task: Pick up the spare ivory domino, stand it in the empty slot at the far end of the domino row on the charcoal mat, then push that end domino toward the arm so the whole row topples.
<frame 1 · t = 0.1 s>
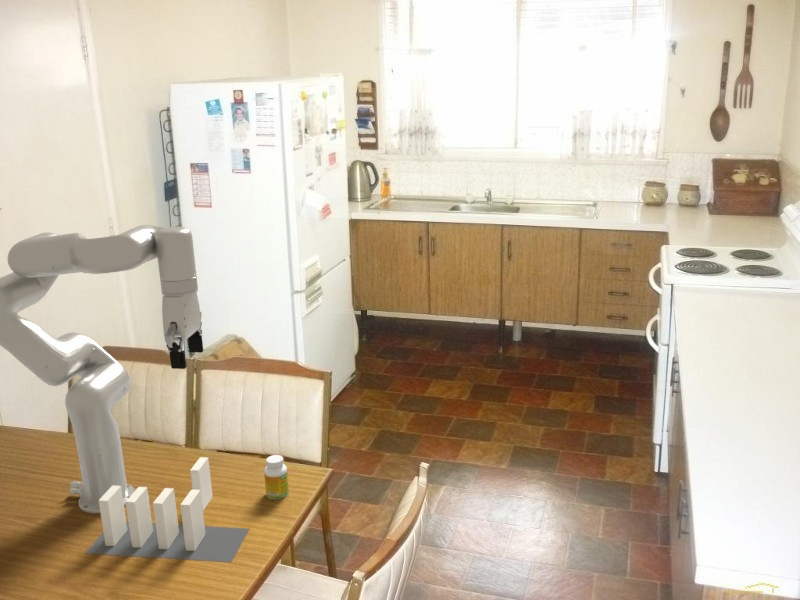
hand: (187, 359, 168), 37 cm above the table, tool pointing down, fingers open, 9 cm apart
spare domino: (204, 505, 178), on the table
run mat: (169, 543, 164), on the table
domino 4: (142, 539, 165), point 1 cm above the table, touching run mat
domino 5: (116, 537, 166), point 1 cm above the table, touching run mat
domino 3: (169, 540, 164), point 1 cm above the table, touching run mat
supplement bottle: (277, 496, 182), on the table
domino 2: (195, 542, 163), point 1 cm above the table, touching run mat
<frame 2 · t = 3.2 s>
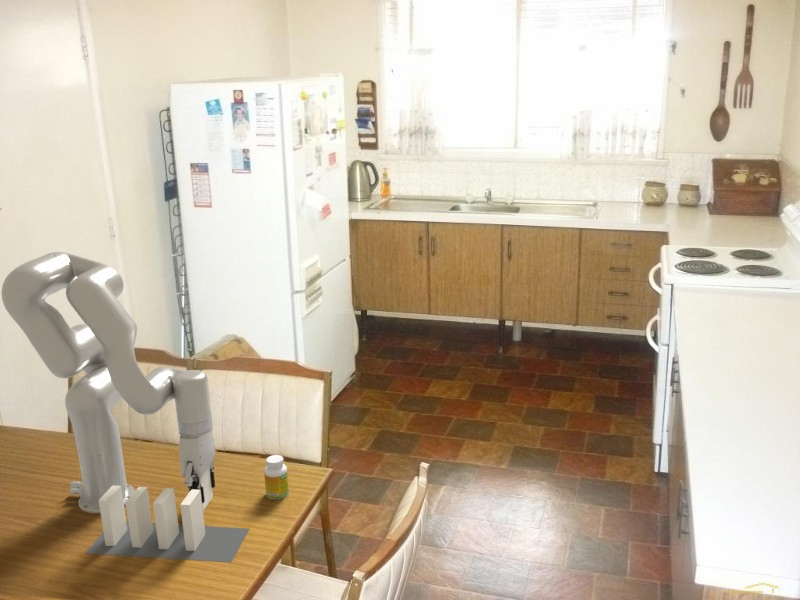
hand: (203, 493, 177), 3 cm above the table, tool pointing down, fingers closed on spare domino, 5 cm apart
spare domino: (204, 505, 178), on the table, touching gripper
everything else where it was.
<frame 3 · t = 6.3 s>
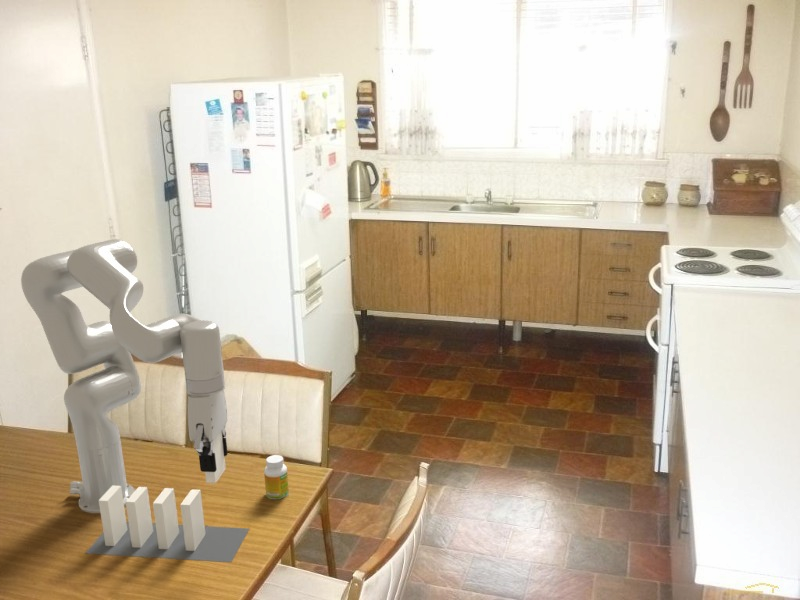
hand: (214, 462, 157), 20 cm above the table, tool pointing down, fingers closed on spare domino, 5 cm apart
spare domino: (216, 475, 158), point 17 cm above the table, touching gripper
everything else where it was.
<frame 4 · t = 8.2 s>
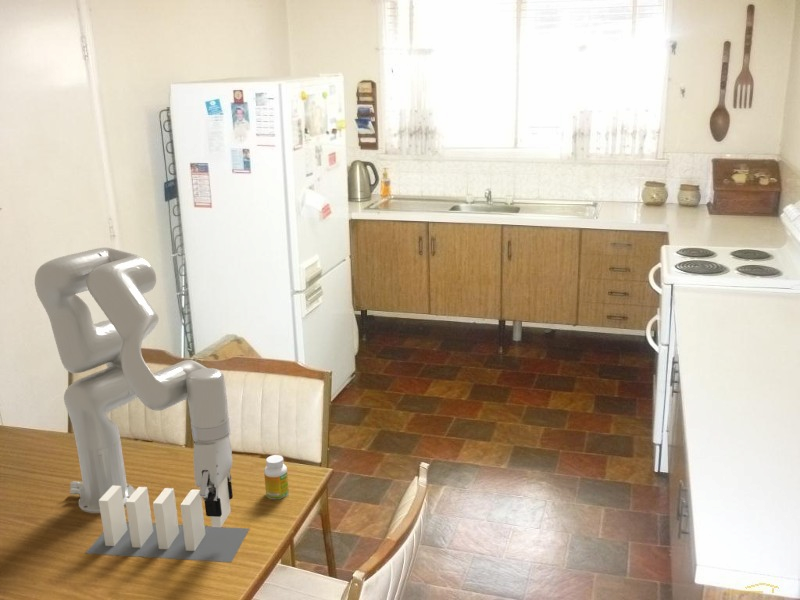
hand: (219, 506, 160), 10 cm above the table, tool pointing down, fingers closed on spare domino, 5 cm apart
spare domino: (221, 519, 161), point 7 cm above the table, touching gripper
everything else where it was.
when the fingers open (5 cm above the table, at t = 9.7 s): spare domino stays where it is, resting on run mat.
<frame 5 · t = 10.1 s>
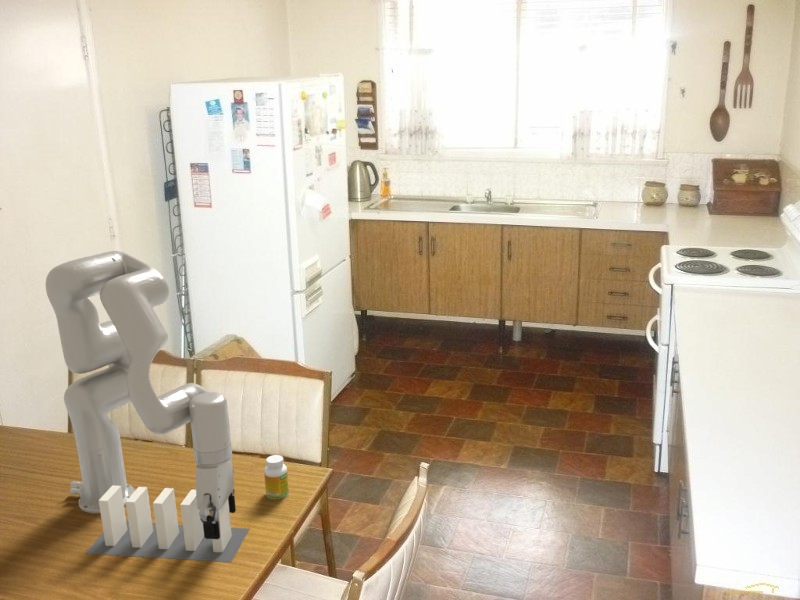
hand: (220, 524, 161), 5 cm above the table, tool pointing down, fingers open, 9 cm apart
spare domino: (222, 543, 163), point 1 cm above the table, touching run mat
everything else where it was.
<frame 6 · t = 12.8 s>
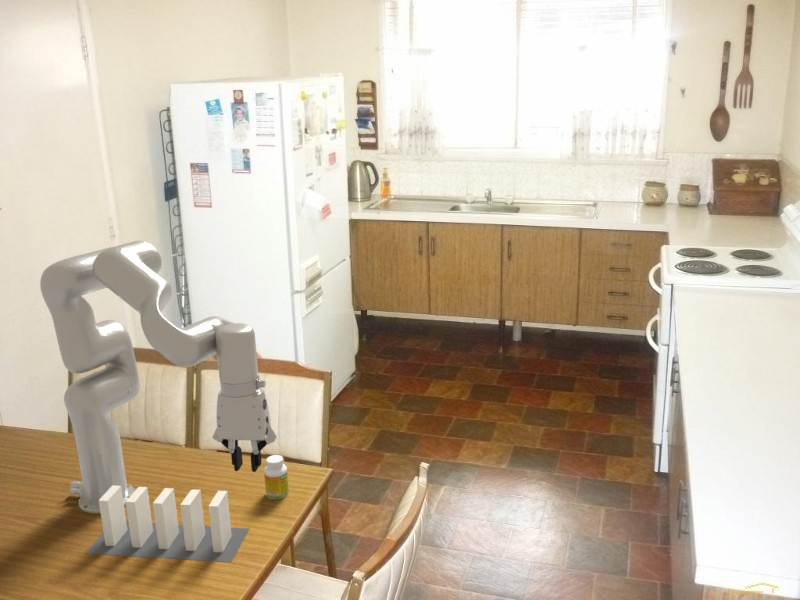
hand: (247, 467, 156), 19 cm above the table, tool pointing down, fingers open, 3 cm apart
nothing on the table moved.
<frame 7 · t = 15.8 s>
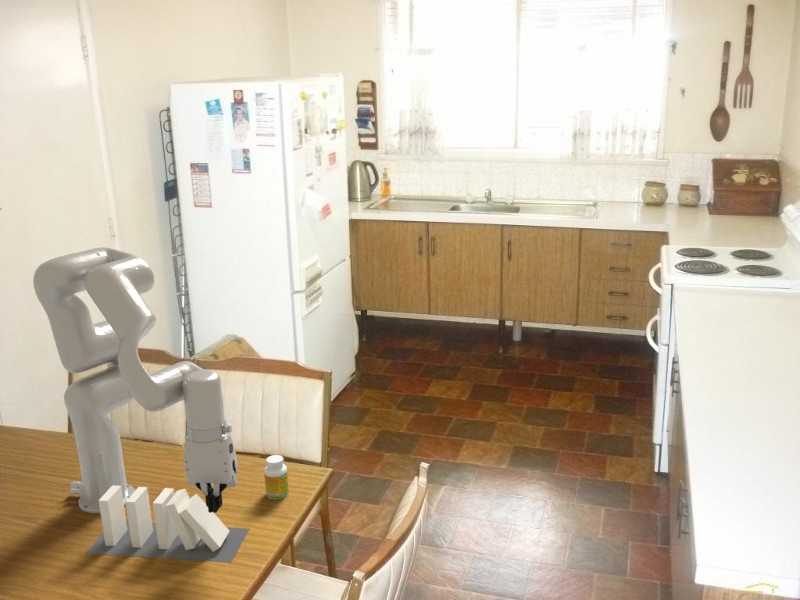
hand: (214, 509, 160), 9 cm above the table, tool pointing down, fingers closed
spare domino: (221, 541, 163), point 1 cm above the table, tilted 37°, touching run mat
domino 2: (195, 540, 163), point 1 cm above the table, tilted 17°, touching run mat
everything else where it was.
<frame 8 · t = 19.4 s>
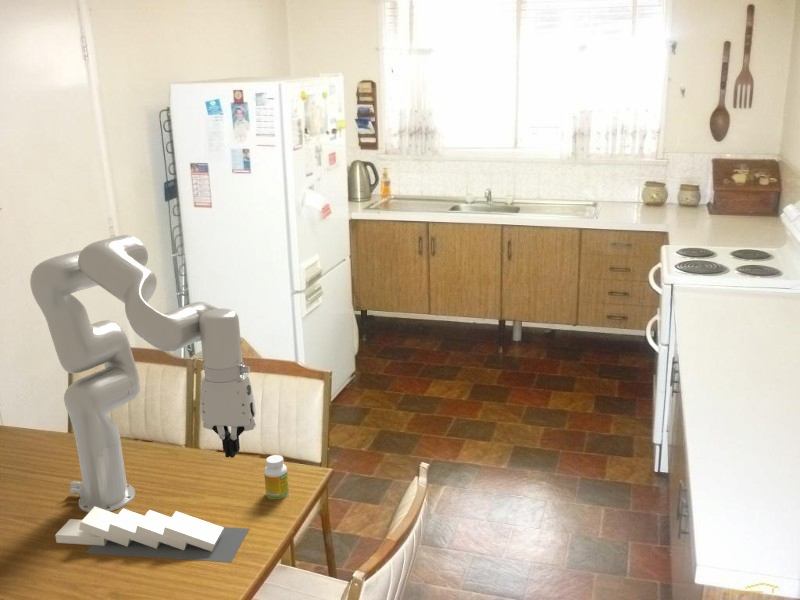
hand: (232, 454, 156), 22 cm above the table, tool pointing down, fingers closed
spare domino: (217, 539, 163), point 2 cm above the table, tilted 71°, touching domino 2, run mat
domino 4: (134, 534, 165), point 2 cm above the table, tilted 70°, touching domino 3, domino 5
domino 5: (110, 533, 166), point 2 cm above the table, tilted 90°, touching domino 4, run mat
domino 3: (163, 536, 164), point 2 cm above the table, tilted 71°, touching domino 2, domino 4, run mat
domino 2: (190, 538, 163), point 2 cm above the table, tilted 71°, touching domino 3, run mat, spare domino
everything else where it was.
at the end: domino 5 tilted 90°; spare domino tilted 71°; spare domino inside the target area (1.0 cm from its centre), point 1.5 cm above the table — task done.
